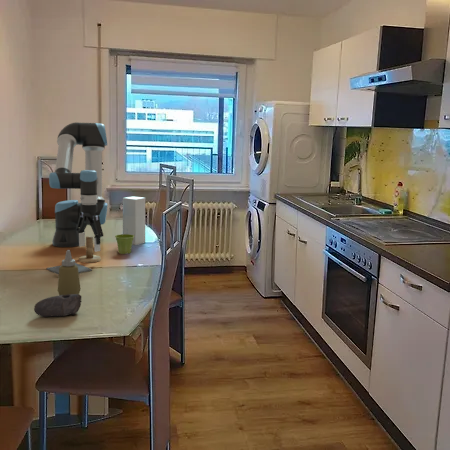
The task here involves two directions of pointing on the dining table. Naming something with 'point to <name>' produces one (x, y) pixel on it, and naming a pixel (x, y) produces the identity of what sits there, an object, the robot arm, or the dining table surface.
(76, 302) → the perforated stone tool
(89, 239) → the beige disc-based post
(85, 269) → the mat
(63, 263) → the squeeze bottle
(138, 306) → the dining table surface
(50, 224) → the dining table surface
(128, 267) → the dining table surface
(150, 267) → the dining table surface
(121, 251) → the plant pot
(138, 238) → the tall white carton
